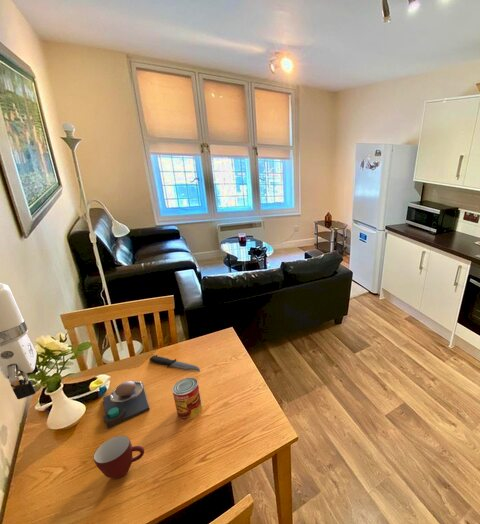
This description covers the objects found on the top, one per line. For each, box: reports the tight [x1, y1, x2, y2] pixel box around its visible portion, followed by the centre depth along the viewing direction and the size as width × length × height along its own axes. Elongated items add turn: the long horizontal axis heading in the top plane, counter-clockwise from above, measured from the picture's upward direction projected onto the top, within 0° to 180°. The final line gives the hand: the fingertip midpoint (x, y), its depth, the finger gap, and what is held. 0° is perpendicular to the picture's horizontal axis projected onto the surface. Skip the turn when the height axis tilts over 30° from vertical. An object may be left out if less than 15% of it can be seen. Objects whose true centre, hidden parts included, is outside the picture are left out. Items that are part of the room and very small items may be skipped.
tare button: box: [108, 407, 119, 418], centre depth 98 cm, size 3×3×2 cm
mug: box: [93, 435, 145, 480], centre depth 83 cm, size 10×8×10 cm
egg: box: [114, 380, 136, 396], centre depth 105 cm, size 6×6×4 cm
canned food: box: [171, 376, 203, 421], centre depth 102 cm, size 8×8×12 cm
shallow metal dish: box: [109, 380, 144, 404], centre depth 106 cm, size 10×10×1 cm
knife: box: [149, 354, 201, 373], centre depth 124 cm, size 25×2×5 cm
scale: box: [103, 382, 151, 430], centre depth 104 cm, size 12×15×3 cm
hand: (29, 384), depth 77 cm, fingers open, 9 cm apart
